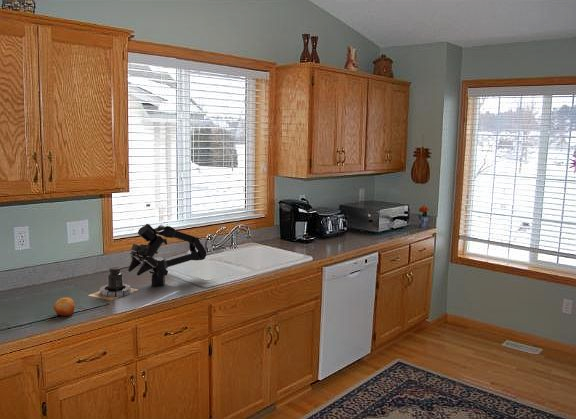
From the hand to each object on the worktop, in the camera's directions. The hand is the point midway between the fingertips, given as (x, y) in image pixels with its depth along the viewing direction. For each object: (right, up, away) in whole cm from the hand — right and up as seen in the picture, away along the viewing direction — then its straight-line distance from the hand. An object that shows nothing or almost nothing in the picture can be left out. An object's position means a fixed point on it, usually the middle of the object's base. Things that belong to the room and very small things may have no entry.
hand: (133, 273), depth 242 cm
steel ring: (-7, -9, -4) cm, 12 cm away
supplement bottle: (-7, -9, -4) cm, 12 cm away
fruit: (-19, -14, -31) cm, 39 cm away
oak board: (-8, -9, -3) cm, 13 cm away
